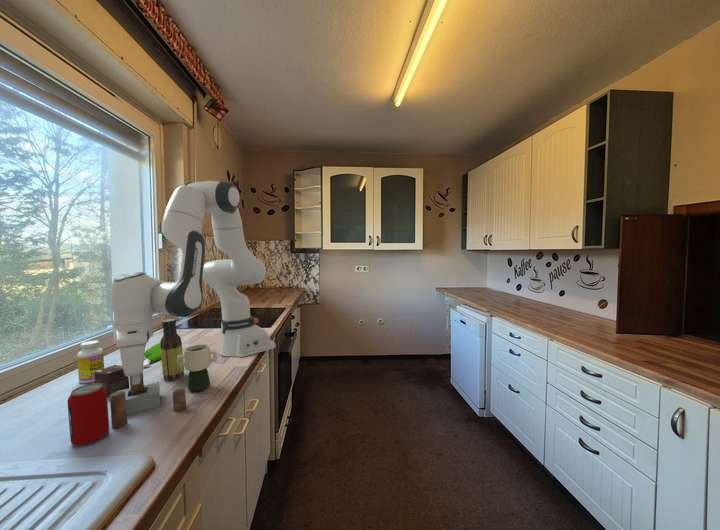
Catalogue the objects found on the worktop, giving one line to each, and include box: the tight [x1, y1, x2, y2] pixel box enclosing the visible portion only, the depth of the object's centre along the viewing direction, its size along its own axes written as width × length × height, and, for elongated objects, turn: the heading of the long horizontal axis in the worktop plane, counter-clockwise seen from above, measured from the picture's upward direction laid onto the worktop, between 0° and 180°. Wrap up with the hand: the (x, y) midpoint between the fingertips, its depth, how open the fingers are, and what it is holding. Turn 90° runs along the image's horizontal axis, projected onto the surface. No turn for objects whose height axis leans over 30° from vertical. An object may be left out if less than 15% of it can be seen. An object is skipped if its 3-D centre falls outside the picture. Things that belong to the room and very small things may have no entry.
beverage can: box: [67, 382, 110, 446], centre depth 70 cm, size 7×7×12 cm
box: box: [94, 364, 130, 398], centre depth 94 cm, size 6×6×7 cm
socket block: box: [117, 381, 161, 416], centre depth 85 cm, size 10×8×4 cm
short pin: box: [172, 388, 187, 413], centre depth 83 cm, size 3×3×5 cm
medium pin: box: [109, 391, 128, 430], centre depth 76 cm, size 3×3×8 cm
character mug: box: [177, 343, 218, 392], centre depth 95 cm, size 11×7×13 cm, turn 112°
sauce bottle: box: [159, 318, 185, 382], centre depth 103 cm, size 6×6×20 cm
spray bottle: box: [143, 342, 161, 369], centre depth 124 cm, size 3×11×25 cm
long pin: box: [129, 371, 145, 396], centre depth 85 cm, size 3×3×11 cm
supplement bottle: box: [76, 340, 105, 384], centre depth 103 cm, size 7×7×13 cm
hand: (137, 380), depth 85 cm, fingers closed on long pin, 3 cm apart
